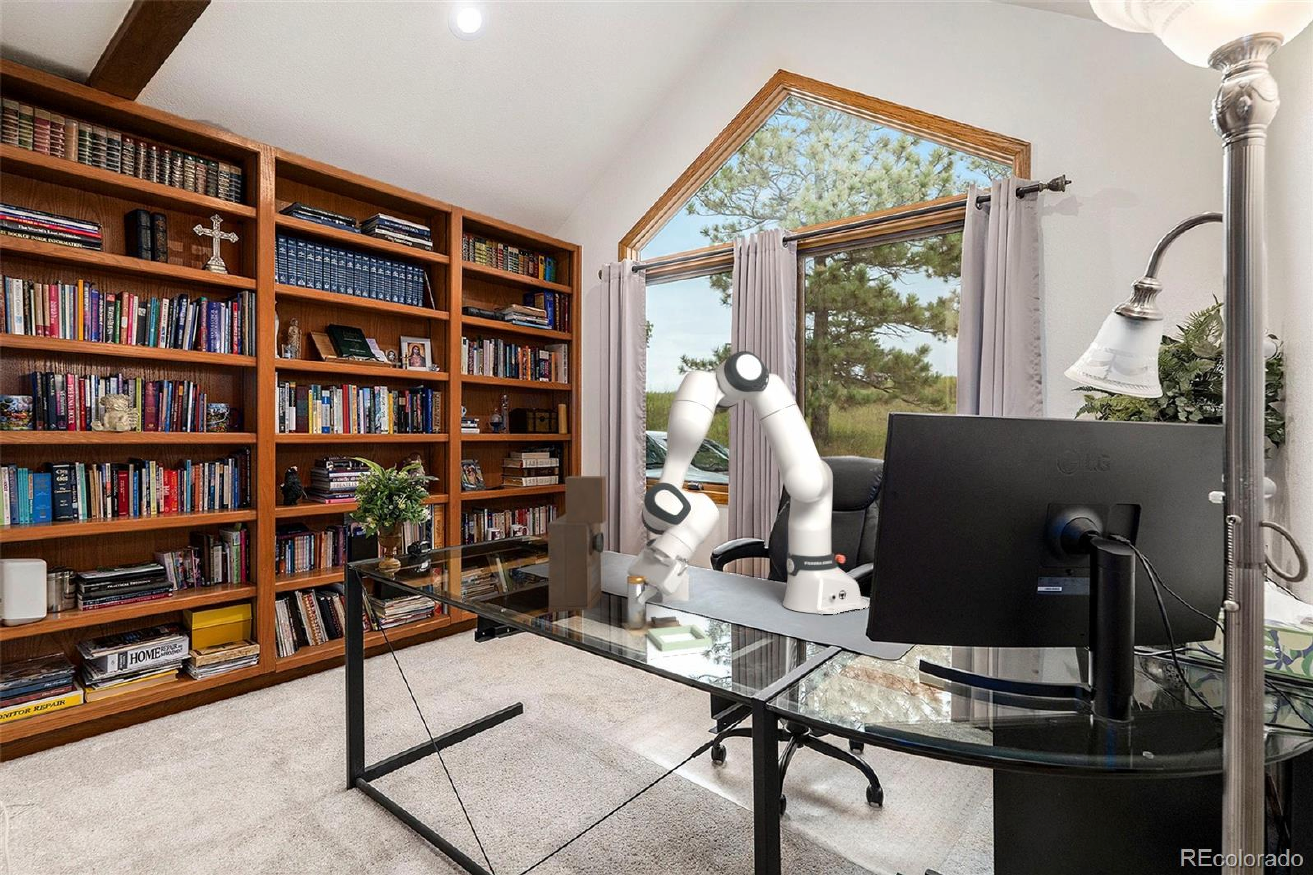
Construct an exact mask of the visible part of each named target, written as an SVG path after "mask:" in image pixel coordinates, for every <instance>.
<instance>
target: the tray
mask: <svg viewBox="0 0 1313 875" xmlns="http://www.w3.org/2000/svg"><path fill="white" fill-rule="evenodd" d="M683 634H692V635H694V636H695V637H696V639H688V640H679V641H669V642H665V641H664V640H663V639H662V638H661V637H664V636H673V635H683ZM647 637H648V638H649V639H650V640H651V641H652V642H653V644H655V646H656V647H657V648H658V649H659V651H661V652H662V653H663V652H670V651H679V650H688V649H689V650H690V649H696V648H697V649H698V648H707V647H712V646H713V641H712V640H713V639H712V638H711V637H710V636H708V635H707V634H706V633H705V632H703V631H702V630H701V629H700V628H699V627H697V626H696V625H695V624H688V625H687V624H686V625H681V626H677V627H667V628H657V629H648V634H647ZM709 652H710V653H711V652H712V650H711V651H708V653H709ZM693 654H696V652H693V653H691V655H693ZM700 654H704V651H702V652H700ZM686 655H687V653H686V654H685V653H684V654H682V656H686ZM676 656H678V655H677V654H675V655H673V657H676ZM666 657H667V658H668V657H669V655H667V656H664V658H666Z"/></svg>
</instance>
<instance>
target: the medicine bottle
mask: <svg viewBox="0 0 1313 875" xmlns="http://www.w3.org/2000/svg"><path fill="white" fill-rule="evenodd" d="M686 570H687V572H686V575H685V577H684V579H683V580H682V582H681V583H680V585H679V586H678V588H677V589H676V590H675V592H674V593H673V594H671V595H670V596H667V595H665V594H663V593H661V599H662V600H661V604H662V603H672V602H673V603H675V602H689V601H690V598H691V597H690V596H691V592H690V591H691V588H690V585H691V584H690V573H689V572H688V568H687V569H686Z"/></svg>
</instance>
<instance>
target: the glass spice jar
mask: <svg viewBox="0 0 1313 875" xmlns="http://www.w3.org/2000/svg"><path fill="white" fill-rule="evenodd" d="M626 580H627V585H626V587H627V592H628V596H627V620H628V621H627V623H628V626H629V627H633V628H640V627H644V626H645V625H646V621H647V620H646V618H647V617H646V602H645V603H644V604H643V605H642V604H640V603H638V602H637V601H636V597H637V596H638V595H639V594H641V593H643V592H644V591H645V590H646V585H645V576H643V575H628V576H627V579H626Z"/></svg>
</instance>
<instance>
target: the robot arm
mask: <svg viewBox="0 0 1313 875" xmlns="http://www.w3.org/2000/svg"><path fill="white" fill-rule="evenodd" d="M682 379H683V380H682V381H681V382H680V384H679V386H678V389H677V390H676V393H675V396H674V398H673V401H672V404H671V406H670V411H669V413H668V414H669V416H668V421H667V429H666V430H667V431H666V454H665V460H664V464H663V468H662V471H661V473H660V474H661V475H660V477H659V481H658V483H655V484H653V485H651V486H650V487H649V488H648V489H647V491H646V492H645V495H644V498H643V506H642V510H641V522H642V524H643V526H644V527H645V528H646V529H647V531H648V532H651V533H652V534H655V535H656V536H657V535H658V536H657V537H656V538H651V539H649V540H647V541H646V542H645V543H644V547H645V548H643V549H642V550H640V552H639V553H638V554H637V556H636V557H635V558H634V559H633V560H632V562H631V563H630V565H629V566H628V569H627V574H628V576H630V575H643V576H645V591H644V592H643V593H641V594H639V595H638V596H637V597H636V601H637V602H638V603H640V604H642V605H643V604H644V603H645V604H646V602H647V600H650V598H652V597H654V596H655V595H656V594H657V592H658V593H661V594H662V593H663V594H665V595H667V596H670V595H671V594H673V593H674V592H675V590H676V589H677V588H678V586H679V585H680V583H681V582H682V580H683V579H684V577H685V575H686V572H687V573H688V568H689V566H690V564H689V562H690V560H691V559H692V558H693V557H694V556H695V553H696V552H697V549H698V547H699V546H701V545H702V544H704V542H706V540H707V539H708V537H709V536H711V533H712V532H713V531H714V529H715V528H716V526H717V524H718V523H719V520H720V513H721V512H720V509H719V507H718V505H717V504H716V503H715V501H714V500H713V499H712V498H711V497H710V496H709V495H707V494H705V493H704V492H692V491H687V490H684V489H683V486H684V483H685V479H686V476H687V473H688V469H689V468H690V465H691V462H692V460H693V459H694V457H695V456H696V453H697V451H698V450H699V448H700V447H701V445H702V444H703V442H704V440H705V438H706V436H707V435H708V432H709V429H710V427H711V425H712V421H713V419H714V415H715V413H716V408H717V409H721V410H725V409H730V408H733V407H735V406H736V405H737V404H739V403H741V402H742V401H745V402H746V403H748V404H749V405H750V406H751V408H752V409H753V411H754V413H755V416H756V418H757V420H758V423H759V425H760V427H761V429H762V432H763V434H764V436H765V438H766V440H767V442H768V444H769V447H770V449H771V451H772V454H773V457H774V460H775V464H776V466H777V469H778V471H779V474H780V476H781V480H782V482H783V484H784V488H785V490H786V492H787V494H788V495H789V496H790V502H789V503H790V504H789V505H790V506H789V516H788V522H787V524H788V525H787V526H788V528H787V529H788V531H787V532H788V538H787V540H788V542H787V543H788V544H787V545H788V550H787V552H786V571H787V582H786V587H785V588H786V589H785V594H784V598H783V600H782V601H783V602H782V606H783V607H784V608H786V609H789V610H791V611H792V610H793V611H796V612H800V613H810V614H817V615H823V614H833V615H837V613H838V614H841V613H840V612H843V611H848V610H852V609H860V610H864V609H863V608H865V607H866V608H865V609H869V608H868V605H869V604H870V602H869V601H868V600H867V599H865V598H863V597H862V595H861V591H860V587H859V586H860V585H859V584H858V582H857V581H856V579H854V578H853V577H851V576H850V575H849V574H848V573H847V572H845V571H844V570H842V569H841V568H840V567H839V566H838V563H840V564H844V563H845V562H846V556H844V555H841V554H835V553H833V552H832V514H833V512H832V511H833V494H834V493H833V491H834V490H833V488H834V487H833V483H834V476H833V475H834V474H833V471H832V469H831V467H830V466H829V464H828V463H827V462H826V461H824V460H823V459H821V458H820V457H821V456H820V455H819V453H818V450H817V448H816V445H815V443H814V439H813V437H812V434H811V431H810V428H809V426H808V424H807V422H806V421H805V419H804V416H803V414H802V411H801V410H800V408H799V405H798V404H797V401H796V400H795V397H794V396H793V394H792V392H791V391H790V389H789V387H788V386H787V385H786V383H785V382H784V380H783V379H782V378H781V377H780V376H779V375H778V374H776V373H770V372H769V369H768V368H767V367H766V366H765V364H764V362H763V361H762V360H761V359H760V357H759V356H758V355H756V354H755V353H753V352H751V351H748V350H741V351H738V352H735V353H733V354H731V355H729V357H727V358H726V359H725V360H724V361H722V362H721V363H720V364H719V365H718V366H717V367H716V369H715V370H714V371H713V372H712V373H711V372H708V371H706V370H701V369H695V370H691V371H689V372H688V373H686V375H685V376H684V378H682ZM686 569H687V570H686ZM626 596H627V597H628V591H627V593H626Z"/></svg>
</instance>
